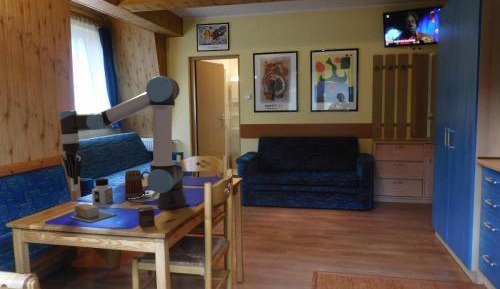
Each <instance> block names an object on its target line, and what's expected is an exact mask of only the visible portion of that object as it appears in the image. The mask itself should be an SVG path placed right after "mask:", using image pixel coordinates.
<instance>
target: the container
mask: <svg viewBox="0 0 500 289" xmlns="http://www.w3.org/2000/svg"><path fill="white" fill-rule="evenodd" d="M94 184H95V188H93V189H91V195H92V196H91V197H92V199H91V200H92V204H98V205H99V204H101V205H103V204H104V205H106V204H108V203H112V201H114V194H113V193H114V192H113V186H109V178H107V177H100V178H99V177H98V178H96V179H95V180H94Z"/></svg>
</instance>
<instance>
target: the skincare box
mask: <svg viewBox="0 0 500 289" xmlns="http://www.w3.org/2000/svg"><path fill="white" fill-rule="evenodd" d="M73 211H74V213H73V214H74V215H78V216H81V217H84V218H91V217H95V216H99V211H100V210H99V207H98V206H96V205H92V204H89V203H87V202H86V203H81V204H76V205H73Z"/></svg>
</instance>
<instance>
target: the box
mask: <svg viewBox="0 0 500 289" xmlns="http://www.w3.org/2000/svg"><path fill="white" fill-rule="evenodd" d="M137 214H138V224H139V227H140V228H146V227H153V226H155V225H156V224H155V223H156V222H155V220H156V219H155V209H154V207H153V206H151V205H150V206H149V205H148V206H142V207H141V206H140V207H138V208H137Z"/></svg>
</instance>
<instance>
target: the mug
mask: <svg viewBox="0 0 500 289" xmlns="http://www.w3.org/2000/svg"><path fill="white" fill-rule="evenodd" d="M149 173H150V170H149V171H148V170H143V172H141V170H140V169H133V170H125V174H124V198H125V199H126V200H129V199H128V198H134V197H135V198H136V197H141V196H142V195H143V194H144V196H145V194H148V195H149V194H150V192H149V191H147V189H148V188H150V187H149V186H148V185H146V187H145V188H144V187H143V181H144V180H145V177H144V174H148V175H149ZM146 191H147V192H146Z"/></svg>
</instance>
